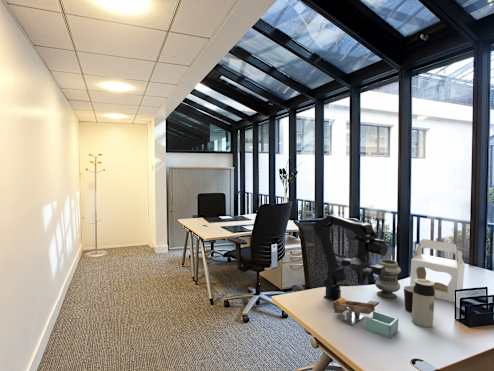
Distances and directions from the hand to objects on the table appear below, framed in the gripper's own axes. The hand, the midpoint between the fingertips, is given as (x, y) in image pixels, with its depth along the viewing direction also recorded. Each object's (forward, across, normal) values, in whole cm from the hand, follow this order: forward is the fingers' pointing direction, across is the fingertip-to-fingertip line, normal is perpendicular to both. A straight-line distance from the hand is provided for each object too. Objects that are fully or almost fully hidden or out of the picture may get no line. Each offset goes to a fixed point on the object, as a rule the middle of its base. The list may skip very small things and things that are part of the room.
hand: (361, 284), depth 148 cm
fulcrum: (+12, +2, -12) cm, 17 cm away
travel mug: (+12, +24, +7) cm, 28 cm away
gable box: (+12, +19, +50) cm, 55 cm away
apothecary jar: (+12, +2, +27) cm, 30 cm away
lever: (+9, +2, -8) cm, 12 cm away
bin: (+12, +14, -12) cm, 22 cm away
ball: (+6, -3, -12) cm, 14 cm away
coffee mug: (+12, +18, +19) cm, 29 cm away
